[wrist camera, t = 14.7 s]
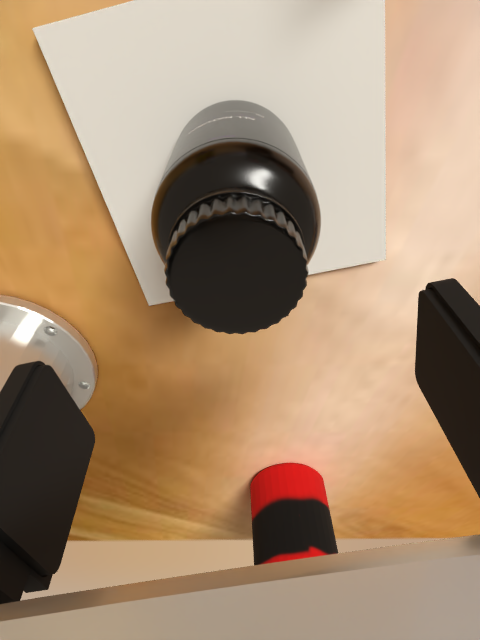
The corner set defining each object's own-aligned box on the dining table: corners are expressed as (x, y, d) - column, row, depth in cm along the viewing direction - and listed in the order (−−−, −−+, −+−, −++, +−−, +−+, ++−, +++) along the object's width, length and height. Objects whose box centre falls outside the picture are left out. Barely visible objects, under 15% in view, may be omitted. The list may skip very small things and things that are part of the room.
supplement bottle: (230, 64, 20) (234, 118, 11) (321, 161, 23) (388, 272, 14) (147, 169, 23) (92, 286, 14) (237, 244, 26) (244, 384, 17)
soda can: (234, 481, 43) (237, 617, 34) (294, 451, 41) (315, 590, 31) (279, 509, 47) (293, 640, 37) (337, 483, 44) (368, 617, 35)
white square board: (382, 253, 28) (385, 259, 27) (150, 299, 30) (149, 305, 29) (379, -66, 18) (384, -69, 18) (38, 27, 20) (32, 28, 19)
